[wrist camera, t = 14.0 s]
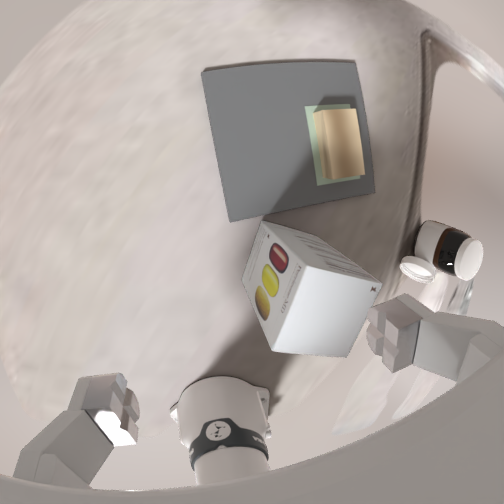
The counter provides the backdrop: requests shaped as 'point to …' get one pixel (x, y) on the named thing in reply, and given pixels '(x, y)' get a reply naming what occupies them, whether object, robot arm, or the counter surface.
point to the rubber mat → (280, 134)
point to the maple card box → (339, 143)
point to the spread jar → (442, 253)
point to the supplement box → (306, 292)
